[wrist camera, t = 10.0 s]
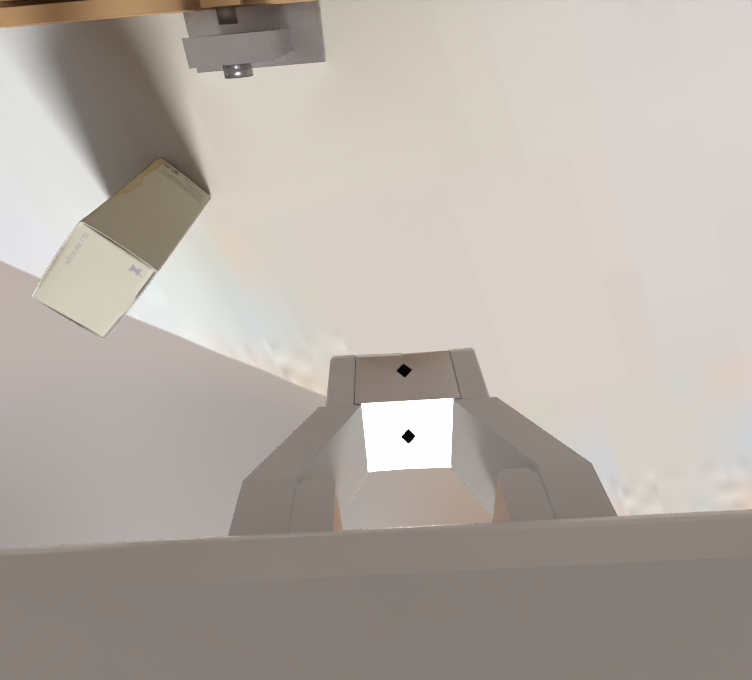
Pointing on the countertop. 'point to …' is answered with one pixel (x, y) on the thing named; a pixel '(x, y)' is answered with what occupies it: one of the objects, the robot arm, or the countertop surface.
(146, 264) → the skincare box
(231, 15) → the beam
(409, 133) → the countertop surface
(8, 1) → the block
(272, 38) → the pivot stand
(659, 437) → the countertop surface
